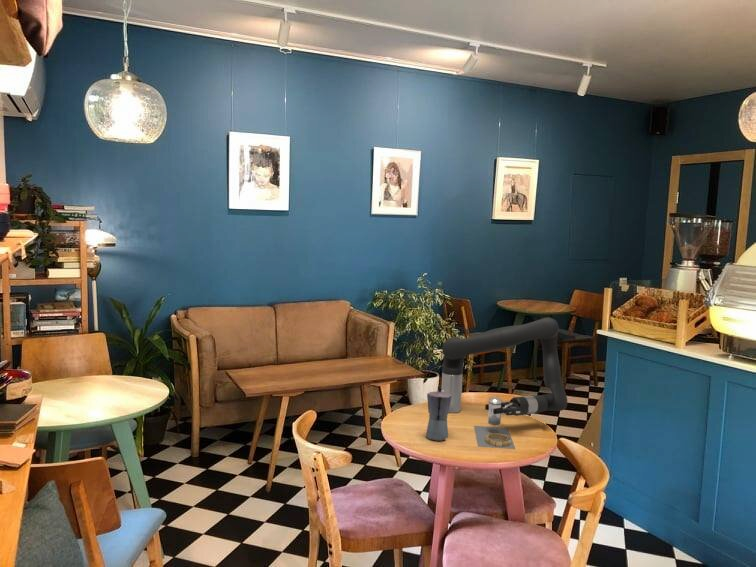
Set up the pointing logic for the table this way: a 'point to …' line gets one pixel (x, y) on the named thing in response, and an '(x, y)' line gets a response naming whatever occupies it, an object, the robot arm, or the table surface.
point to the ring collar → (497, 443)
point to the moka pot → (438, 415)
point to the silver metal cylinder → (492, 418)
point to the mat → (484, 430)
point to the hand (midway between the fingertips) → (489, 409)
